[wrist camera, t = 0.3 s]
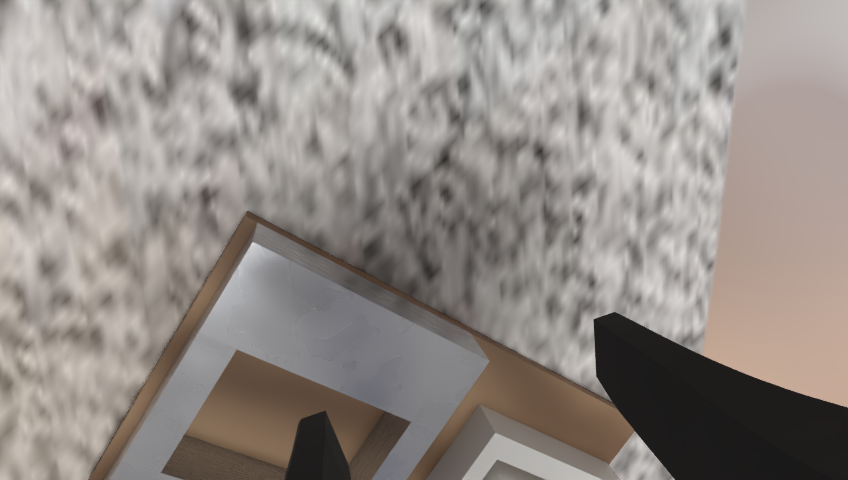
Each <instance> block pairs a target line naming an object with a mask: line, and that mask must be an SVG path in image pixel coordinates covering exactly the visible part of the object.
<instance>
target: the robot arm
mask: <svg viewBox="0 0 848 480" xmlns="http://www.w3.org/2000/svg"><path fill="white" fill-rule="evenodd" d="M594 336H595V357H596V376H597V378H598V380H599V381H600V383H601V384H602V386H603V388H604V389H605V391H606V392H607V394H608V396H609V397H610V399H611V400H612V402H613V403H614V405H615V406H616V408H617V409H618V411H619V412H620V413H621V414H622V416H623V417H624V418H625V419H626V421H627V422H628V423H629V424H630V426H631V427H632V428H633V429H634V430H635V432H636V433H637V434H638V435H639V437H640V438H641V439H642V440H643V441H644V443H645V444H646V445H647V446H648V447H649V449H650V450H651V451H652V452H653V453H654V455H655V456H656V457H657V458H658V459H659V461H660V462H661V463H662V464H663V465H664V467H665V468H666V469H667V470H668V472H669V473H670V474H671V475H672V476H673V478H674V479H675V480H848V408H847V407H843V406H840V405H837V404H833V403H830V402H826V401H823V400H820V399H816V398H812V397H809V396H806V395H803V394H800V393H797V392H794V391H791V390H788V389H784V388H782V387H779V386H776V385H774V384H771V383H768V382H765V381H762V380H760V379H757V378H754V377H752V376H749V375H746V374H744V373H741V372H739V371H737V370H734V369H732V368H730V367H727V366H725V365H722V364H720V363H718V362H716V361H713V360H711V359H709V358H707V357H704V356H702V355H700V354H698V353H696V352H694V351H691V350H689V349H687V348H685V347H683V346H681V345H679V344H677V343H675V342H673V341H671V340H669V339H667V338H665V337H663V336H661V335H659V334H657V333H655V332H653V331H651V330H649V329H647V328H645V327H643V326H641V325H640V324H638V323H636V322H634V321H632V320H630V319H628V318H626V317H624V316H622V315H620V314H618V313H616V312H613V313H610V314H607V315H605V316H602V317H599V318H596V319H594ZM284 480H351V475H350V470H349V465H348V462H347V460H346V458H345V455H344V453H343V451H342V448H341V446H340V443H339V441H338V439H337V436H336V434H335V432H334V429H333V427H332V424H331V422H330V420H329V417H328V415H327V413H326V410H325V411H322V412H319V413H316V414H314V415H311V416H308V417H305V418H302V419H301V420H300V421H299V423H298V427H297V432H296V436H295V441H294V445H293V449H292V453H291V457H290V460H289V464H288V467H287V471H286V474H285V477H284Z"/></svg>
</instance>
